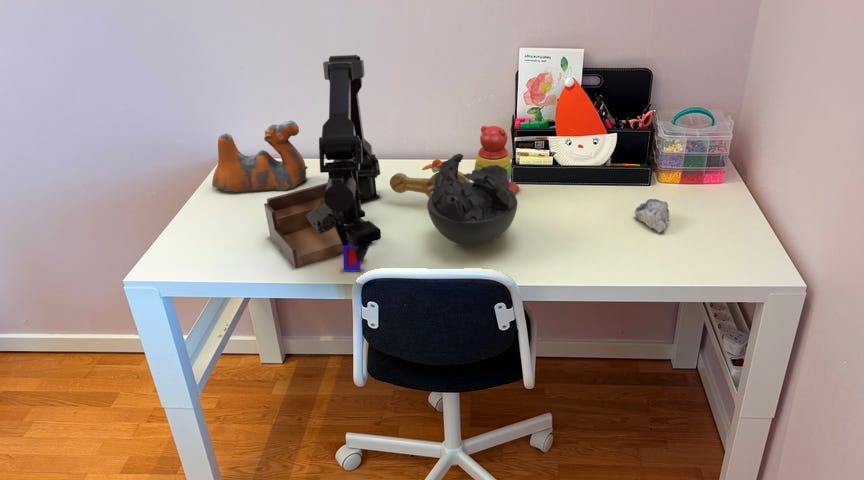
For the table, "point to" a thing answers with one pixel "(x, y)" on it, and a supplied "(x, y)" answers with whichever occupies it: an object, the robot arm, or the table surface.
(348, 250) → the toy building block
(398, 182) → the toy helicopter
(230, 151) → the camel toy
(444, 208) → the coal bowl
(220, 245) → the table surface
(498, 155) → the stacking bear
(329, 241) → the shelf
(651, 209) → the mineral specimen
